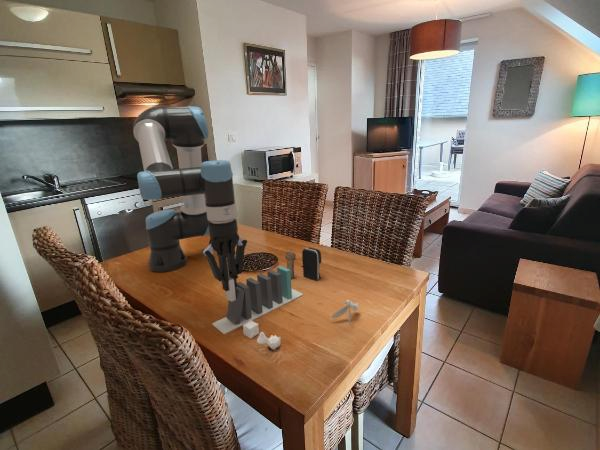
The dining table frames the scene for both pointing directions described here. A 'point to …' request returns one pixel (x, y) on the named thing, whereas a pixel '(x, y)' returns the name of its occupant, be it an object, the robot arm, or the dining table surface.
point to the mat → (227, 325)
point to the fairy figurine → (343, 310)
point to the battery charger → (311, 263)
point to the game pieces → (260, 335)
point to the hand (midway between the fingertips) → (231, 299)
